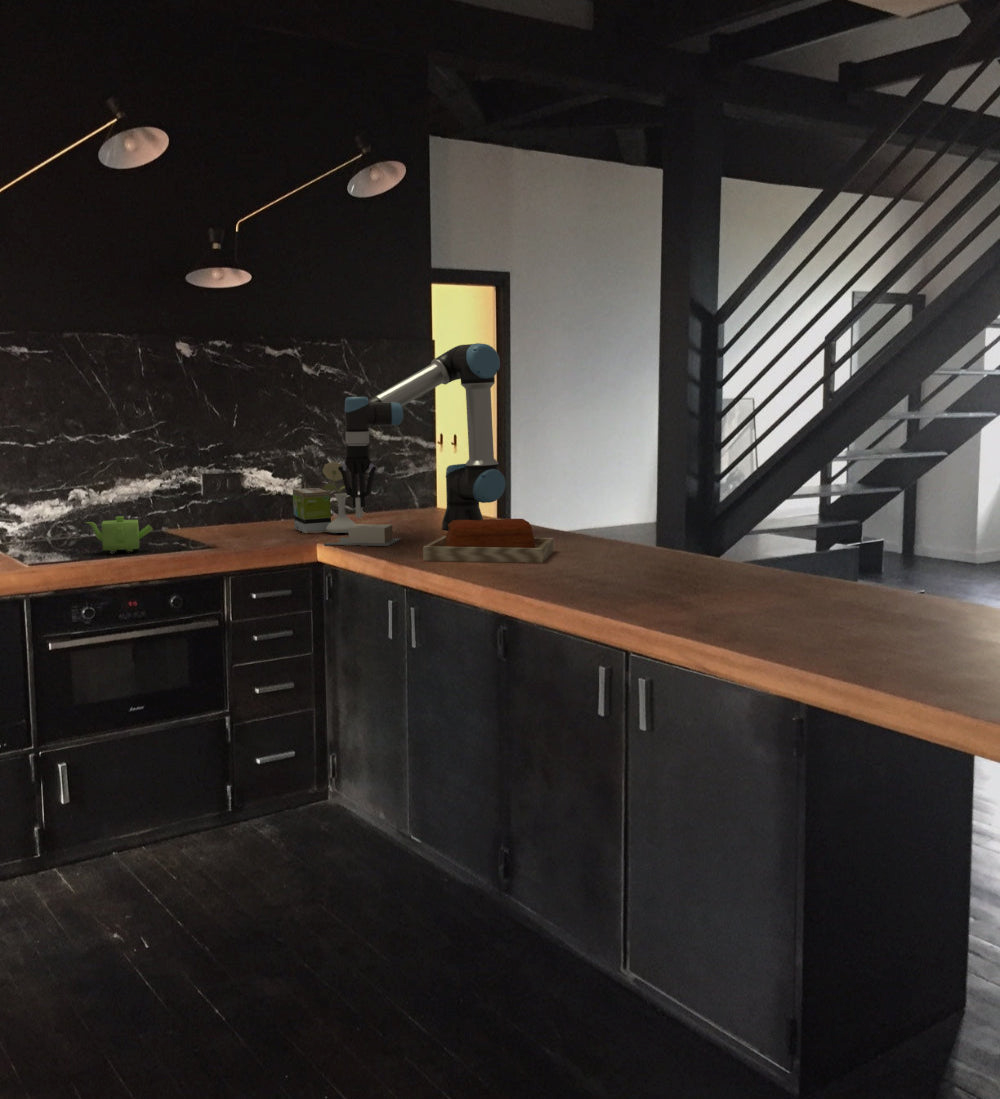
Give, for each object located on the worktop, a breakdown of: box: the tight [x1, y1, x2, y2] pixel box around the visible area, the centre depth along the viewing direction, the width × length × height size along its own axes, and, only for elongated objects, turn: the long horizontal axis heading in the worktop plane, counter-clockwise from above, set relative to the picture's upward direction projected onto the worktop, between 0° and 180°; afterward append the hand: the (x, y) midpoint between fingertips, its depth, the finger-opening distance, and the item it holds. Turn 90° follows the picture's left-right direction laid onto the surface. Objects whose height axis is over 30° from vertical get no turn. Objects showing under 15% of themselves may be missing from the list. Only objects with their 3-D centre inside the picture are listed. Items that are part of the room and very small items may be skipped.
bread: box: [445, 518, 535, 548], centre depth 341 cm, size 16×27×11 cm, turn 98°
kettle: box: [84, 515, 154, 552], centre depth 357 cm, size 15×14×11 cm
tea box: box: [292, 487, 332, 533], centre depth 406 cm, size 15×10×15 cm
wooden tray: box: [422, 536, 555, 564], centre depth 342 cm, size 35×24×5 cm
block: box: [348, 523, 394, 543], centre depth 372 cm, size 5×9×12 cm
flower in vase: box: [322, 461, 357, 534], centre depth 398 cm, size 13×11×25 cm
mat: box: [323, 537, 402, 547], centre depth 373 cm, size 21×16×1 cm
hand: (359, 517), depth 372 cm, fingers closed
